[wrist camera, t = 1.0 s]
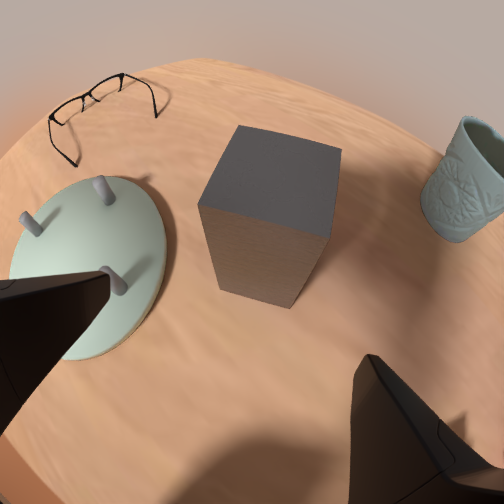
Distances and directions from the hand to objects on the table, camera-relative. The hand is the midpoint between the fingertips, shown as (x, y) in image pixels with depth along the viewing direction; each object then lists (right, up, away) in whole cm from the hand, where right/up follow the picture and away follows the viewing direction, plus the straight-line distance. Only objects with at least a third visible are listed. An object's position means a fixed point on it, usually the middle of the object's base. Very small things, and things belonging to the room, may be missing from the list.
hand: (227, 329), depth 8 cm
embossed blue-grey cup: (+25, +7, +19) cm, 32 cm away
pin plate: (-17, +1, +15) cm, 23 cm away
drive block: (+2, +1, +16) cm, 16 cm away
